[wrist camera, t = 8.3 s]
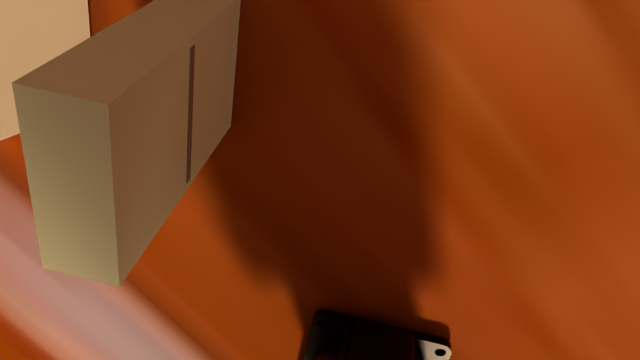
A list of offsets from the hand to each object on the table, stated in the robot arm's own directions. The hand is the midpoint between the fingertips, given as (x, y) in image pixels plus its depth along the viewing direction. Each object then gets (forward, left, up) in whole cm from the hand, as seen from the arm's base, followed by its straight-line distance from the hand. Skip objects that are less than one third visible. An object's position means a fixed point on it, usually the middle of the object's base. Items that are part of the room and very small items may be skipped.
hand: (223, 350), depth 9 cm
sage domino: (0, +5, -12) cm, 13 cm away
